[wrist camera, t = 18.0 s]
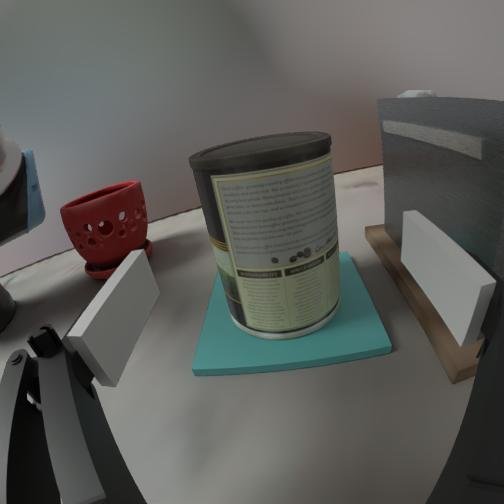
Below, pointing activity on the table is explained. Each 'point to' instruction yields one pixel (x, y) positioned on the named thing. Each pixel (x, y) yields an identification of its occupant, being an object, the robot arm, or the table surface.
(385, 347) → the pad
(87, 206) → the plant pot
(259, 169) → the coffee can
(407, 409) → the table surface
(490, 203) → the mounted unit
